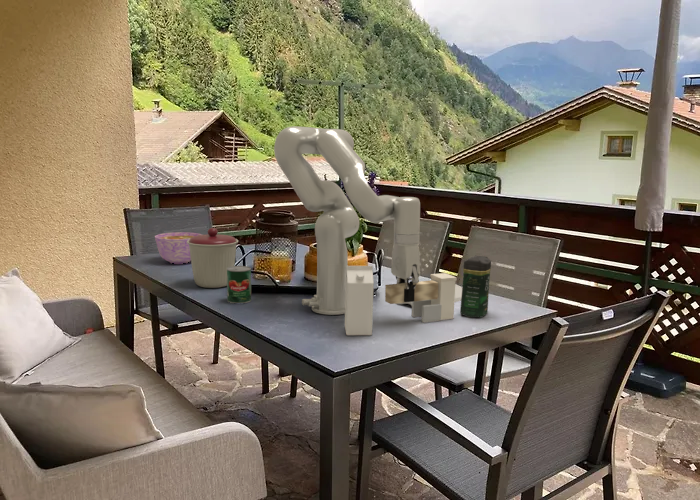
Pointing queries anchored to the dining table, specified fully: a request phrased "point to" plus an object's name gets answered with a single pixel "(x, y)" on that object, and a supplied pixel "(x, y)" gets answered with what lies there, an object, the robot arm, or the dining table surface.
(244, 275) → the canned tomato
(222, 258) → the canister
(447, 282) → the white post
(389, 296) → the birch rail
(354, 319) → the milk carton
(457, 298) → the crown molding
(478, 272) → the coffee jar
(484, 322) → the dining table surface
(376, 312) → the dining table surface
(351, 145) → the robot arm
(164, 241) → the bowl of food
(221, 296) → the dining table surface
